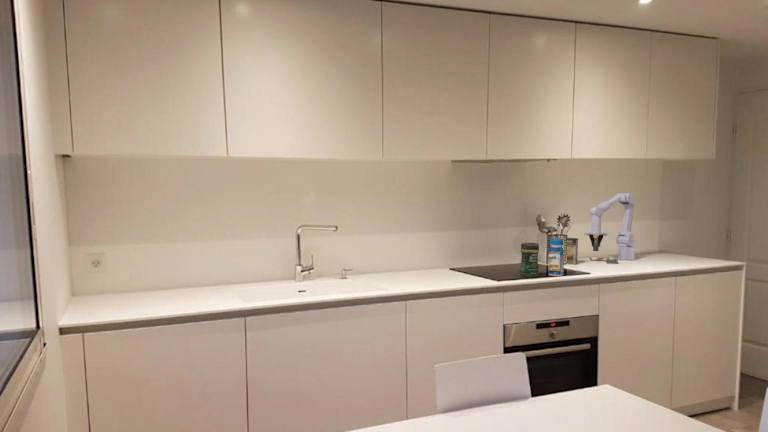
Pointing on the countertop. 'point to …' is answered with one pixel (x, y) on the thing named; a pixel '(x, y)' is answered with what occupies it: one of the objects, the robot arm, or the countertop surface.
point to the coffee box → (572, 250)
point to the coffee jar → (529, 260)
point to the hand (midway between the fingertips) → (595, 246)
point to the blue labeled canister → (556, 258)
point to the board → (597, 259)
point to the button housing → (612, 261)
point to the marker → (595, 243)
